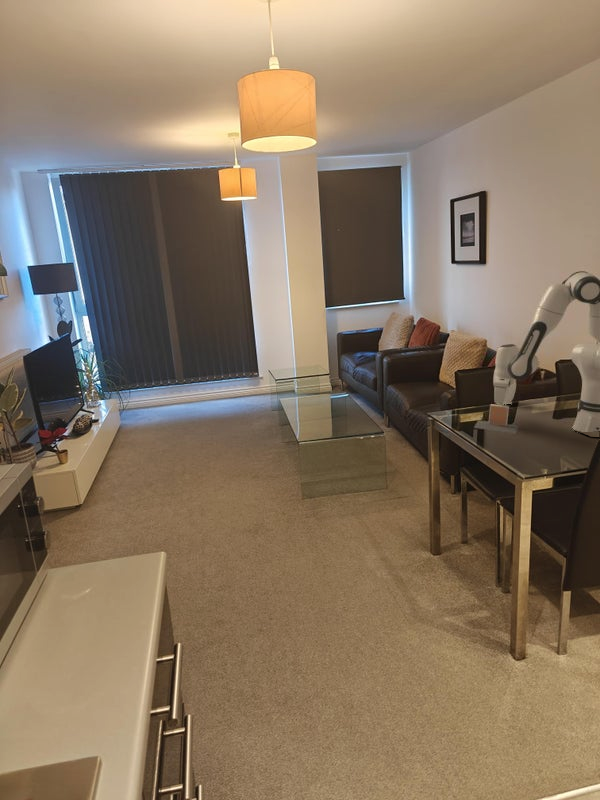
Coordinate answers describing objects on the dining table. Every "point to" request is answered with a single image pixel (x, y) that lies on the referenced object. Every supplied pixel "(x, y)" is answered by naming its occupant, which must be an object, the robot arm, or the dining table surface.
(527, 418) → the dining table surface
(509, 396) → the jar
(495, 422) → the tile
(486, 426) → the mat
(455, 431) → the dining table surface
